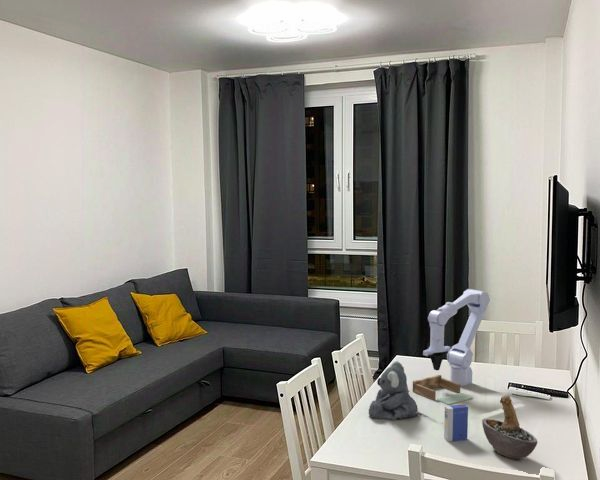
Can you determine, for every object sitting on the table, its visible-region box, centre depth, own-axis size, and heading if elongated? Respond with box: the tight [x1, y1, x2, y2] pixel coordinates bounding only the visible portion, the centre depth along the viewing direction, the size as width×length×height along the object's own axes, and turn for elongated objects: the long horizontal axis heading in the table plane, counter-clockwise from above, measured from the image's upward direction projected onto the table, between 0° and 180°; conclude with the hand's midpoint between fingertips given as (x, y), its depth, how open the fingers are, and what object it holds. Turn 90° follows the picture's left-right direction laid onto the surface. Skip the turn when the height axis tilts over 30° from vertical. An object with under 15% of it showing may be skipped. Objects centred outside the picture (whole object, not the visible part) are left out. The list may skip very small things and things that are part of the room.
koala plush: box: [368, 360, 419, 421], centre depth 231 cm, size 17×18×20 cm
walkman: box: [443, 403, 469, 442], centre depth 208 cm, size 8×3×12 cm, turn 105°
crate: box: [412, 374, 462, 401], centre depth 252 cm, size 16×12×6 cm
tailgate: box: [436, 392, 473, 406], centre depth 244 cm, size 14×1×7 cm
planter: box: [481, 394, 539, 461], centre depth 195 cm, size 15×17×20 cm
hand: (436, 369), depth 255 cm, fingers closed
